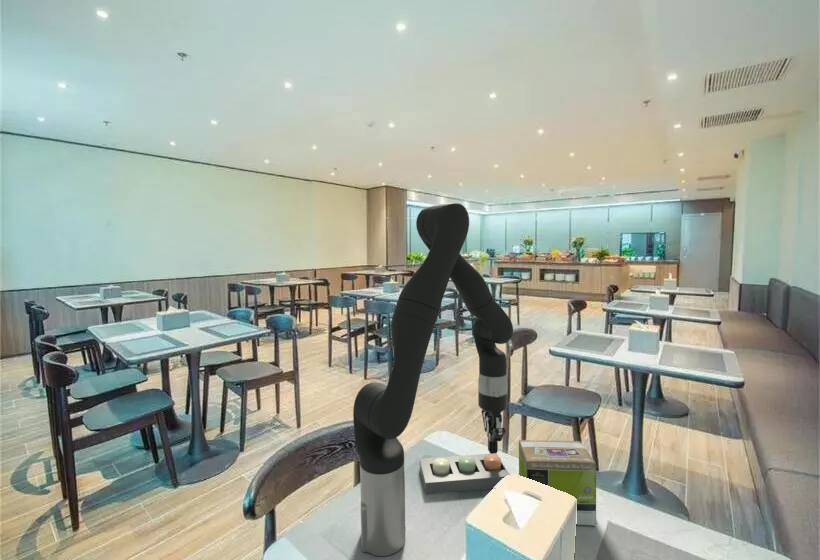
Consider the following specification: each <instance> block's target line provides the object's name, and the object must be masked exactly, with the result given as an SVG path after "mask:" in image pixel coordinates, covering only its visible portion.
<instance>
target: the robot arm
mask: <svg viewBox="0 0 820 560" xmlns="http://www.w3.org/2000/svg"><path fill="white" fill-rule="evenodd" d="M415 224H416V226H415V227H416V230H417V233H418V236H419V237H420V239H421V241H422V243H424V245H425V246H426V247H427V249H428V250H429V251H428V253H427V256H426V258H425V259H424V261H423V262H422V263H421V265H420V266H419V267H418V269H417V270H416V271H415V272H414V273H413V275H412V276H411V277H410V278H409V279H408V281H407V282H406V283H405V285H404V287H403V288H402V290H401V292H400V294H399V296H398V299H397V302H396V304H395V308H394V311H393V314H392V318H391V326H390V329H391V330H390V332H391V339H392V350H393V361H392V362H393V363H392V368H391V372H390V374H389V375H390V376H389V379H388V382H387V384H386V385H385V384H383V383H380V382H375V381H374V382H369V383H367V384H365V385H363V386H362V388H360V389H359V391H358V392H357V394H356V397H355V400H354V404H353V409H352V410H353V412H352V417H353V418H352V419H353V420H352V421H353V432H354V445H355V450H356V452H357V455H358V457H359V475H360V476H359V477H360V481H359V482H360V532H361V535H360V536H361V537H360V538H361V552H362V553H369V554H371V555H374V556H376V557H377V556H378V557H385V556H387V557H388V556H390V555H393V554H395V553H398V551H400V550H401V549H402V548H403V547H404V545H405V544H406V543H405V542H406V531H407V530H406V529H407V528H406V489H405V488H406V484H405V482H406V481H405V480H406V479H405V476H406V475H405V450H404V446H403V445H402V443H401V442H400V441H399V439H398V437H400V436H401V435H402V434H403V432H405V430H406V428H407V426H408V424H409V422H410V420H411V417H412V415H413V410H414V405H415V402H416V401H415V400H416V396H417V391H418V387H419V381H420V379H421V378H420V377H421V373H422V368H423V364H424V361H425V357H426V355H427V351H428V348H429V344H430V341H431V339H432V335H433V331H434V328H435V326H436V323H437V320H438V316H439V313H440V310H441V306H442V302H443V299H444V295H445V292H446V290H447V287H448V283H449V281H450V280H451V281H452V283H453V284H454V286H455V288H456V290H457V292H458V294H459V295H460V298H461V299H462V301H463V303H464V305H465V307H466V309H467V310H468V312H469V314H470V315H472V316H473V317H475V319H474V320H473V325H472V335H473V340H474V344H475V347H476V352H477V355H478V358H479V360H478V362H479V363H478V367H479V368H478V370H479V373H478V380H477V381H478V383H477V385H478V387H477V388H478V389H477V391H478V393H477V394H478V395H477V397H478V398H477V399H478V400H477V401H478V407H479V408H480V409H481V415H482V422H483V426H484V427H483V428H484V432H485V433H486V437H487V450H488V452H489V454H490V453H491V454H492V453H497V454H498V452H499V451H498V450H499V448H498V447H499V446H498V442H501V441H502V440H503V438H504V437H505V434H506V428H505V427H502V423H503V416H502V414H501V413H502V412H504V411H505V410H506V409H507V408H508V377H507V355H506V353H505V352H504V351H503V350H501V349H500V348H498V347H497V345H496V344H498V345H503V344H508V342H510V341H511V339H513V335H514V326H513V322H512V320H511V319H510V317H509V315H508V314H507V313H506V311H505V310H504V309H503V308H502V307H501V306H500V304H499V303H498V302H497V301H496V300H495V299H494V297H493V294H492V292H491V290H490V288H489V287H488V284H487V283H486V281H485V279H484V277H483V276H482V274H481V273H480V272H479V271H478V270H477V269H476V268H475V267H474V266H473V265H472V264H471V263H470V262H468V260H467V259H465V257H464V256H462V254H461V251H462V250H463V249H462V248H463V245H464V243H465V241H466V238H467V236H468V232H469V229H470V228H469V227H470V216H469V212H468V209H466V207H465V206H464V205H463V204H461V203H458V202H447V203H441V204H436V205H431V206H427V207H425V208H423V209H422V210H421V211H420V212H418V215H417V217H416V223H415Z"/></svg>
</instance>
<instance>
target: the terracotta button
mask: <svg viewBox="0 0 820 560" xmlns="http://www.w3.org/2000/svg"><path fill="white" fill-rule="evenodd" d="M498 456H499V455H498ZM498 456H496V455H486V456H485V457H484V469H485V471H496V470H501V461H502V459H501V457H500V456H499V457H498Z"/></svg>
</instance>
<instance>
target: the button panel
mask: <svg viewBox="0 0 820 560" xmlns="http://www.w3.org/2000/svg"><path fill="white" fill-rule="evenodd" d="M486 455H496V456H498V457H500V456H499V454H498V452H497V453H492V454H491V453H490V452H489V453H480V454H479V453H478V454H467V455H466V454H465V455H464V454H463V455H452V456H438V457H426V458H419V471H420V472H419V473H420V475H421V480H422V485H423V489H424V493H425V495H433V494H446V493H456V492H469V491H482V490H493V489H492V488H493V487H494V486H495V485H496V484H497V483H498V482H499V481H500V480H501V479H502V478H504V477H505V476H507V475H510V476H511V474H510V473H509V471H508V469H507V468H506V466H505V464H504V463H503V461H502V460H501V470H496V471H486V470H485V469H484V457H485V456H486ZM465 456H467V457H471V458H473V459H474V460H475V472H471V473H460V472H459V459H460V458H461V457H465ZM439 458H443V459H446V460H448V461H449V472H450V473H449V474H446V475H434V474H433V461H434V460H435V459H439Z"/></svg>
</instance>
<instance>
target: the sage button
mask: <svg viewBox="0 0 820 560" xmlns="http://www.w3.org/2000/svg"><path fill="white" fill-rule="evenodd" d="M471 472H475V460H474V459H473V458H471V457H467V456H465V457H461V458H460V459H459V473H471Z"/></svg>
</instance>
